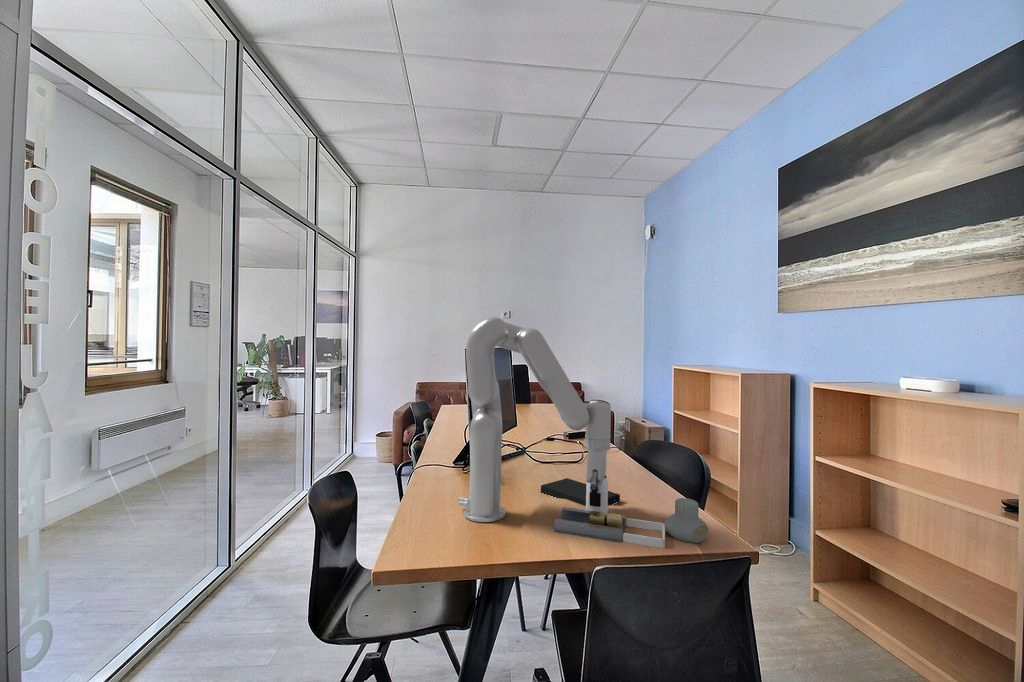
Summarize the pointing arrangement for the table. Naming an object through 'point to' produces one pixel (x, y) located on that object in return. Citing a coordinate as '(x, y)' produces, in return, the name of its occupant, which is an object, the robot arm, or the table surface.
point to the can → (603, 497)
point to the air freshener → (686, 522)
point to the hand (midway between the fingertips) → (597, 501)
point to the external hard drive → (573, 491)
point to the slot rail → (586, 526)
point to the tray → (645, 539)
